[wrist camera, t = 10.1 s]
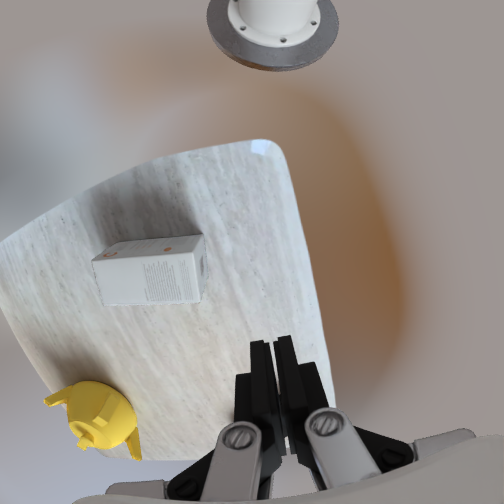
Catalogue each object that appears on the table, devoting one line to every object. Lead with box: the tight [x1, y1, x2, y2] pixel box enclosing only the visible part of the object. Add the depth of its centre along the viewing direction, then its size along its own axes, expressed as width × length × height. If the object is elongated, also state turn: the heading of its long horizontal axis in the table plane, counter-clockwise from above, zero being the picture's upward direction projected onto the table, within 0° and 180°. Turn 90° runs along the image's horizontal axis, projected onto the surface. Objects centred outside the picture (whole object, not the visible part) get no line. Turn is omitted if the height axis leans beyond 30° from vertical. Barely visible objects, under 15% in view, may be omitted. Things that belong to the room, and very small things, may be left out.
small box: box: [91, 234, 209, 306], centre depth 34 cm, size 8×6×13 cm
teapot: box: [44, 381, 142, 461], centre depth 41 cm, size 17×17×12 cm
